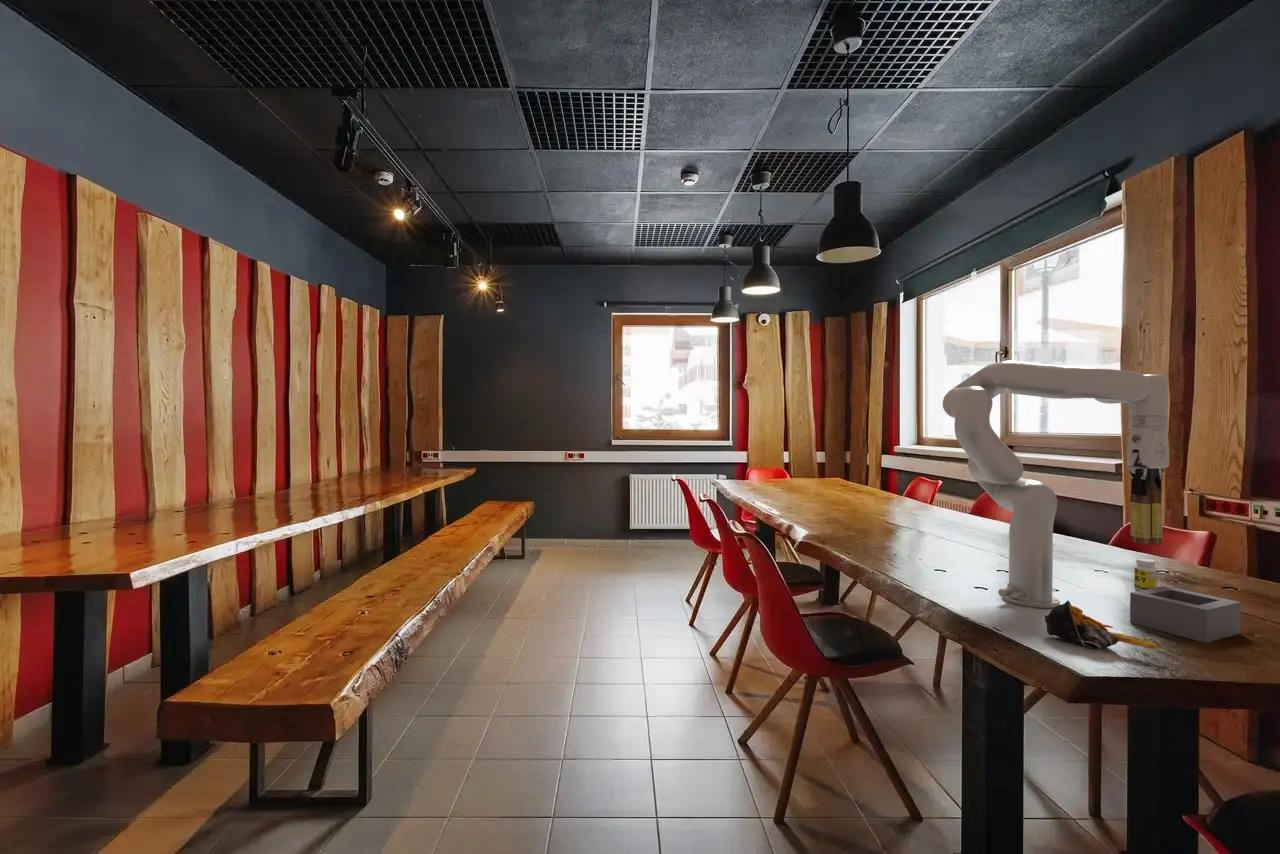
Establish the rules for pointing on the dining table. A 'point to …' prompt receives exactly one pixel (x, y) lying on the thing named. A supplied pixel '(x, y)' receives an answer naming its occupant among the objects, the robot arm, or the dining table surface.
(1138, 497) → the sauce bottle
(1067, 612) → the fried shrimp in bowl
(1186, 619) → the box
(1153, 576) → the supplement bottle
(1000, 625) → the dining table surface
